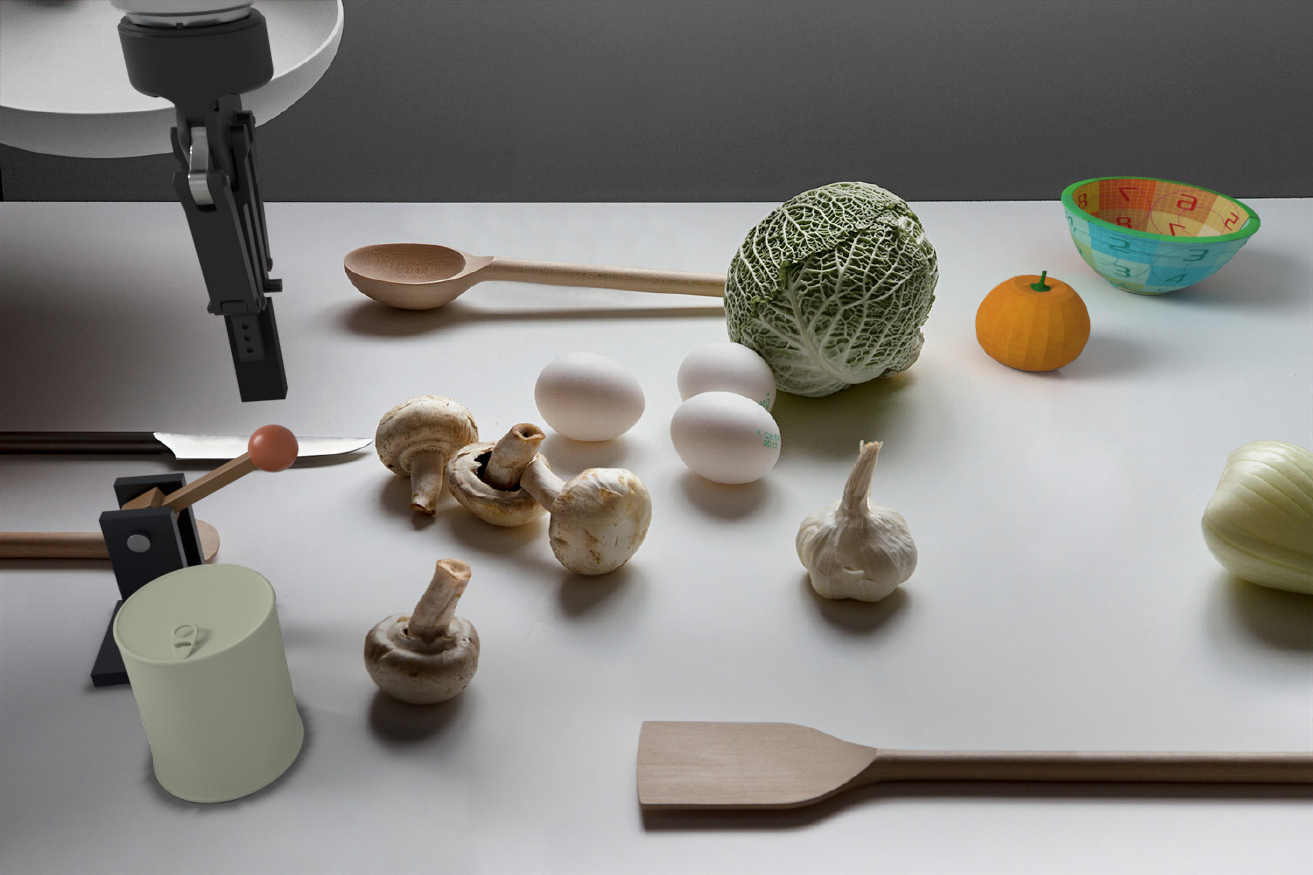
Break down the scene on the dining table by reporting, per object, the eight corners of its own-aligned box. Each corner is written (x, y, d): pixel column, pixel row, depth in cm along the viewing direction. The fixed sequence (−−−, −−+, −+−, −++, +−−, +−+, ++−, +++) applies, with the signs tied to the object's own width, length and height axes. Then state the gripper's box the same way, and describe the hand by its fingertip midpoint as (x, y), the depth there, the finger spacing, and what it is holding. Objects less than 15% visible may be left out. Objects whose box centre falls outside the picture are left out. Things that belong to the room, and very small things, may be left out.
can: (139, 812, 69) (91, 664, 62) (170, 703, 76) (130, 562, 70) (296, 795, 70) (264, 648, 64) (311, 689, 78) (283, 550, 72)
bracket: (260, 599, 86) (230, 457, 79) (245, 672, 79) (211, 524, 72) (121, 612, 84) (78, 468, 78) (94, 687, 78) (44, 537, 71)
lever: (310, 442, 77) (281, 407, 75) (306, 467, 74) (275, 432, 72) (152, 528, 78) (120, 497, 77) (142, 556, 76) (108, 524, 74)
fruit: (976, 326, 129) (992, 243, 124) (1084, 344, 125) (1104, 259, 120) (962, 371, 119) (978, 283, 114) (1078, 391, 116) (1100, 302, 111)
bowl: (1026, 295, 136) (1042, 216, 131) (1066, 237, 153) (1081, 164, 148) (1226, 338, 127) (1252, 255, 122) (1245, 270, 144) (1268, 195, 139)
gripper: (246, 35, 56) (316, 443, 68) (277, -13, 66) (332, 346, 79) (84, 39, 54) (185, 453, 67) (143, -11, 65) (220, 353, 78)
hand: (265, 394), depth 73 cm, fingers closed
